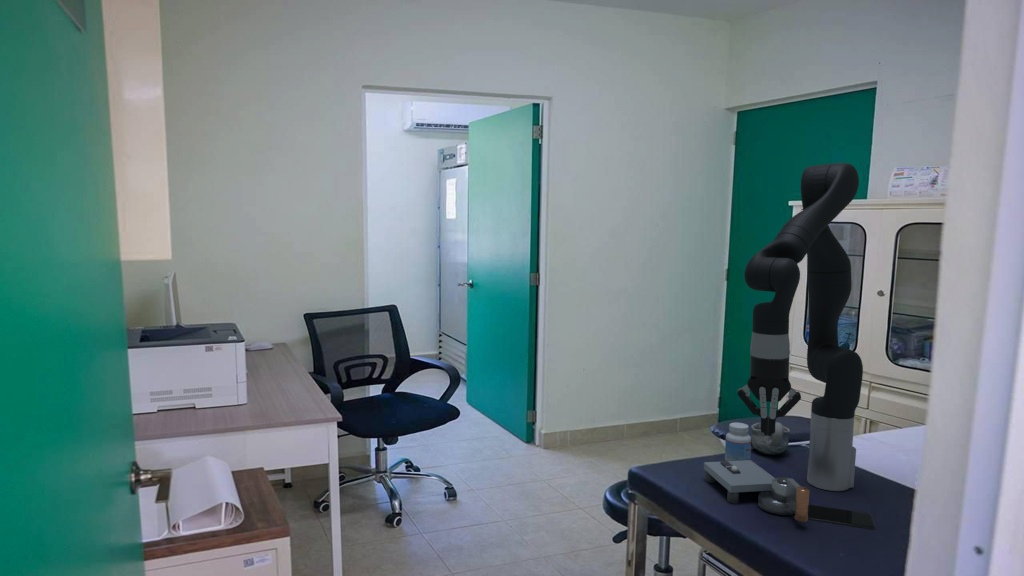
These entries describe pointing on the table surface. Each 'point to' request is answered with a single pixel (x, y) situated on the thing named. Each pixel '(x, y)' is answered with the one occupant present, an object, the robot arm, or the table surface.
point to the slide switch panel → (738, 477)
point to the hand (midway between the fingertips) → (767, 434)
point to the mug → (770, 439)
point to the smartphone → (841, 517)
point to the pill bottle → (738, 443)
